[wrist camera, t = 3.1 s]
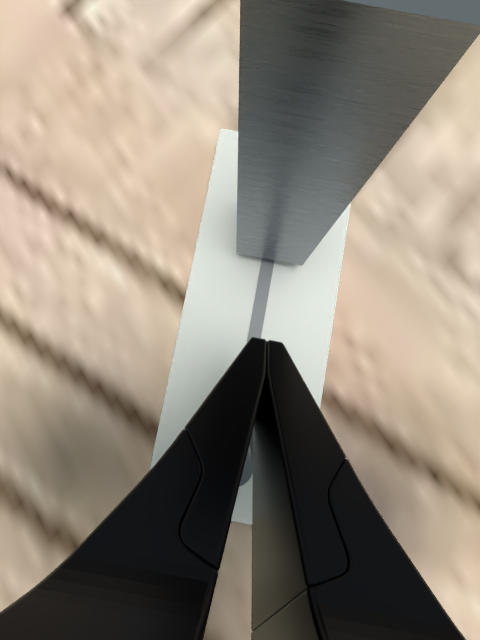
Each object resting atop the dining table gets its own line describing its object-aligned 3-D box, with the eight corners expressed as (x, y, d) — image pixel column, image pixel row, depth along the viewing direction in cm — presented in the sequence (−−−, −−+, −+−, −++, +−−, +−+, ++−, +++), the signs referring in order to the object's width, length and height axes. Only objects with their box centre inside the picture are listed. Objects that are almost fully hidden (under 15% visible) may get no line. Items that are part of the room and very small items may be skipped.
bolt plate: (295, 519, 14) (315, 571, 11) (149, 491, 14) (123, 535, 11) (349, 166, 16) (380, 115, 13) (221, 142, 16) (218, 86, 13)
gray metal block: (299, 269, 14) (484, 27, 4) (236, 257, 14) (240, -19, 4) (309, 208, 15) (505, -171, 4) (247, 197, 15) (281, -212, 4)
